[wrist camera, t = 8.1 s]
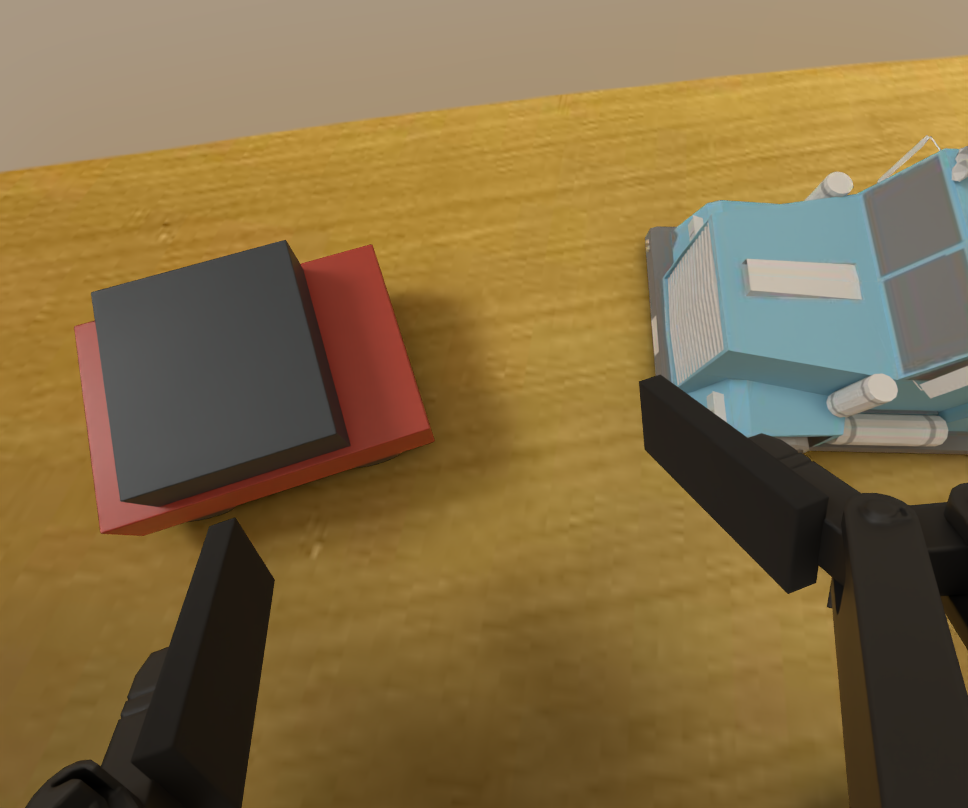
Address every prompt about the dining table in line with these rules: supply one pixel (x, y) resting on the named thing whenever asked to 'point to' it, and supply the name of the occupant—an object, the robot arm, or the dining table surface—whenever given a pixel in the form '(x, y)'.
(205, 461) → the toy car
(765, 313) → the truck
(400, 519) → the dining table surface
